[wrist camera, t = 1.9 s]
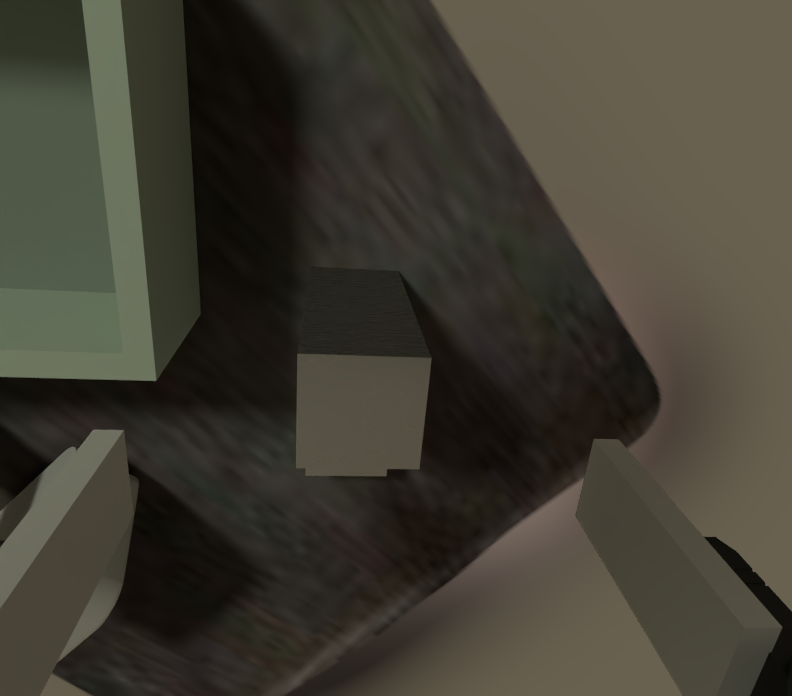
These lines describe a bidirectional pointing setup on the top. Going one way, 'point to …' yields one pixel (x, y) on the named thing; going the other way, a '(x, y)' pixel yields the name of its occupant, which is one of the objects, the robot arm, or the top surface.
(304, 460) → the grey l-shaped block
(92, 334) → the open box
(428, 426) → the top surface
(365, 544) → the top surface
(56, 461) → the wall hook
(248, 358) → the top surface
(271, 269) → the top surface
